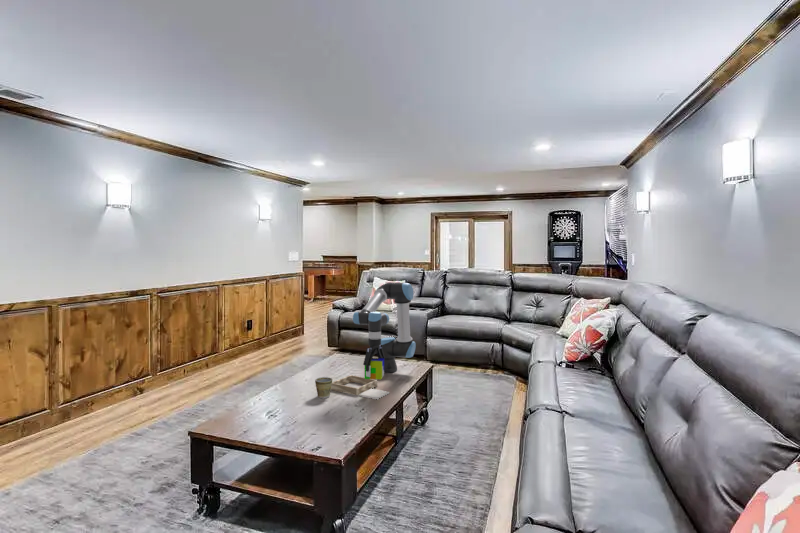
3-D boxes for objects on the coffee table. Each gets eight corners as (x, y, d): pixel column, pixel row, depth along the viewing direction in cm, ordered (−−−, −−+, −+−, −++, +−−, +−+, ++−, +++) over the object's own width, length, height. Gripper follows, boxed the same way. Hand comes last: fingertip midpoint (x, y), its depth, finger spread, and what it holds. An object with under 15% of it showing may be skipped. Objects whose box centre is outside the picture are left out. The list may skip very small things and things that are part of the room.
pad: (371, 389, 267) (371, 388, 267) (389, 393, 261) (389, 391, 261) (359, 395, 256) (359, 394, 256) (377, 399, 249) (377, 398, 249)
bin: (350, 381, 285) (350, 375, 285) (377, 386, 275) (377, 380, 275) (330, 389, 267) (330, 383, 267) (357, 395, 257) (357, 388, 256)
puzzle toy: (383, 374, 262) (384, 358, 262) (381, 379, 252) (381, 362, 252) (367, 374, 263) (367, 357, 263) (364, 378, 254) (364, 361, 253)
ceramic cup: (328, 399, 249) (328, 382, 248) (312, 398, 251) (312, 381, 250) (336, 392, 261) (336, 376, 261) (320, 391, 263) (320, 375, 263)
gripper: (380, 334, 270) (380, 368, 270) (357, 340, 249) (357, 377, 249) (390, 335, 266) (390, 370, 266) (368, 342, 245) (367, 380, 245)
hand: (374, 374), depth 258 cm, fingers closed on puzzle toy, 12 cm apart
